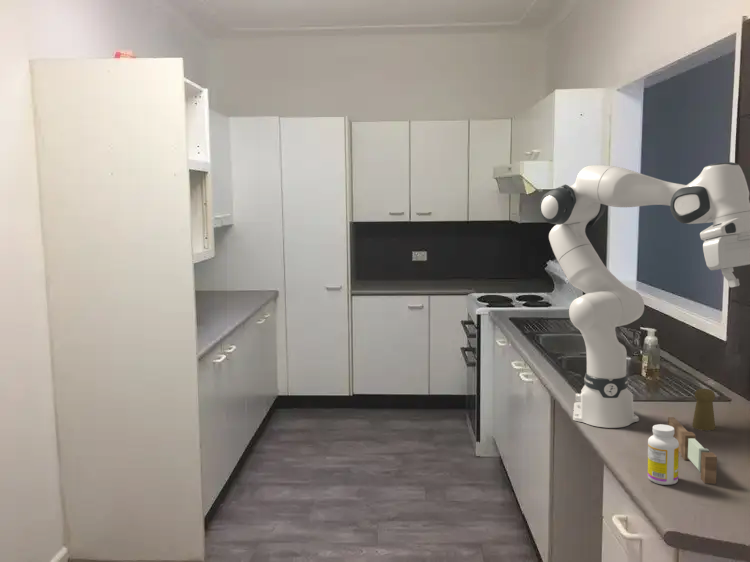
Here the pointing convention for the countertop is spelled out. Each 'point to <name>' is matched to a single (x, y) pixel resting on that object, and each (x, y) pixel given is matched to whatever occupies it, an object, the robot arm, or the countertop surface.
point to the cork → (704, 410)
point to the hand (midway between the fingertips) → (748, 284)
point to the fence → (706, 457)
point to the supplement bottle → (663, 455)
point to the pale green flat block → (695, 452)
